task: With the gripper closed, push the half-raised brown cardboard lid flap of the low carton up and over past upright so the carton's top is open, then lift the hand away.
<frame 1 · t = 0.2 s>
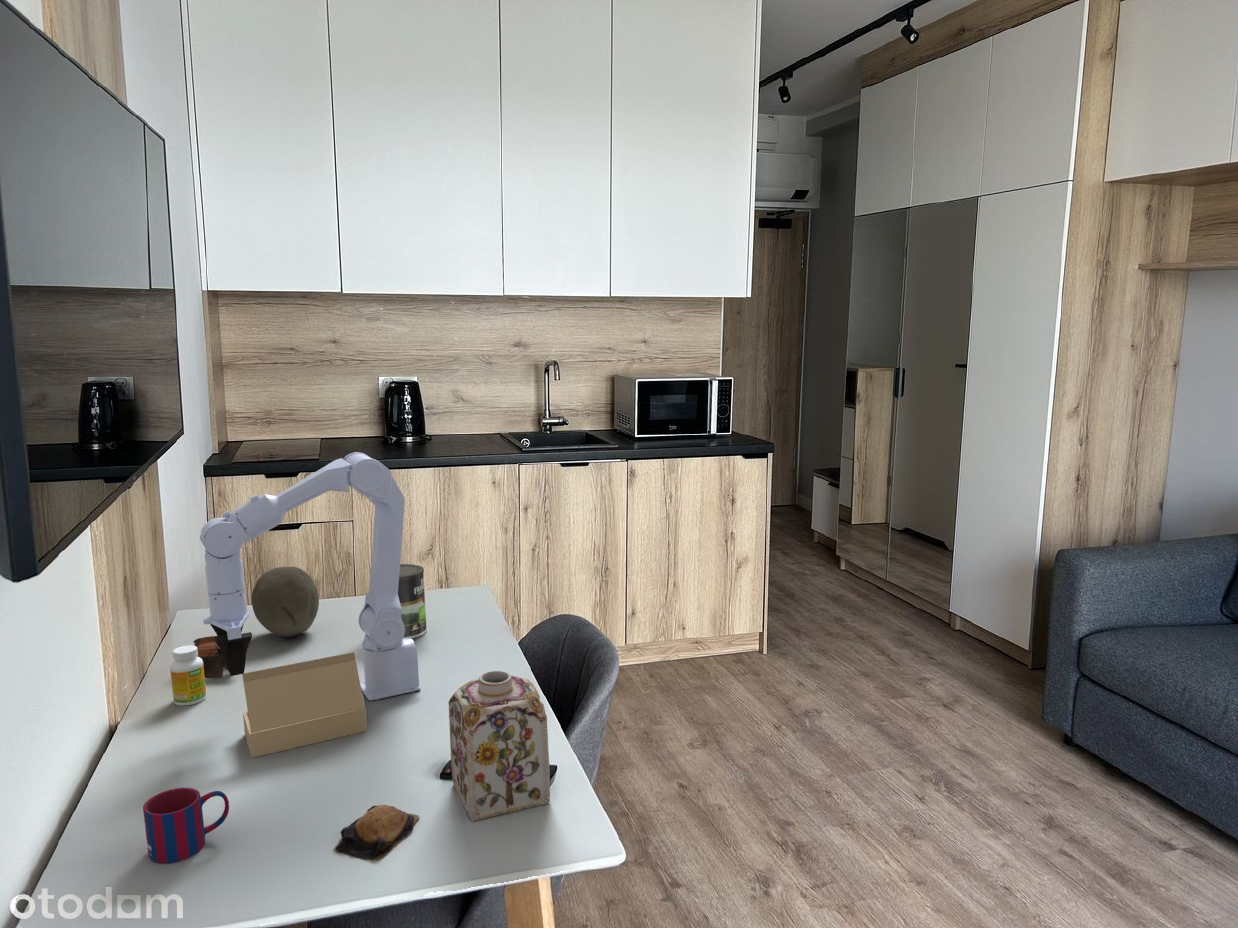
hand: (234, 666, 152), 10 cm above the table, tool pointing down, fingers open, 7 cm apart
cup: (191, 846, 118), on the table
supplement bottle: (190, 700, 163), on the table
cantaloupe: (288, 635, 195), on the table
carton: (306, 732, 149), on the table
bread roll: (377, 838, 120), on the table
decorative jar: (500, 795, 129), on the table
lid flap: (304, 690, 146), point 8 cm above the table, hinge at 55.0°
pottery mug: (219, 672, 176), on the table
coffee can: (403, 633, 195), on the table
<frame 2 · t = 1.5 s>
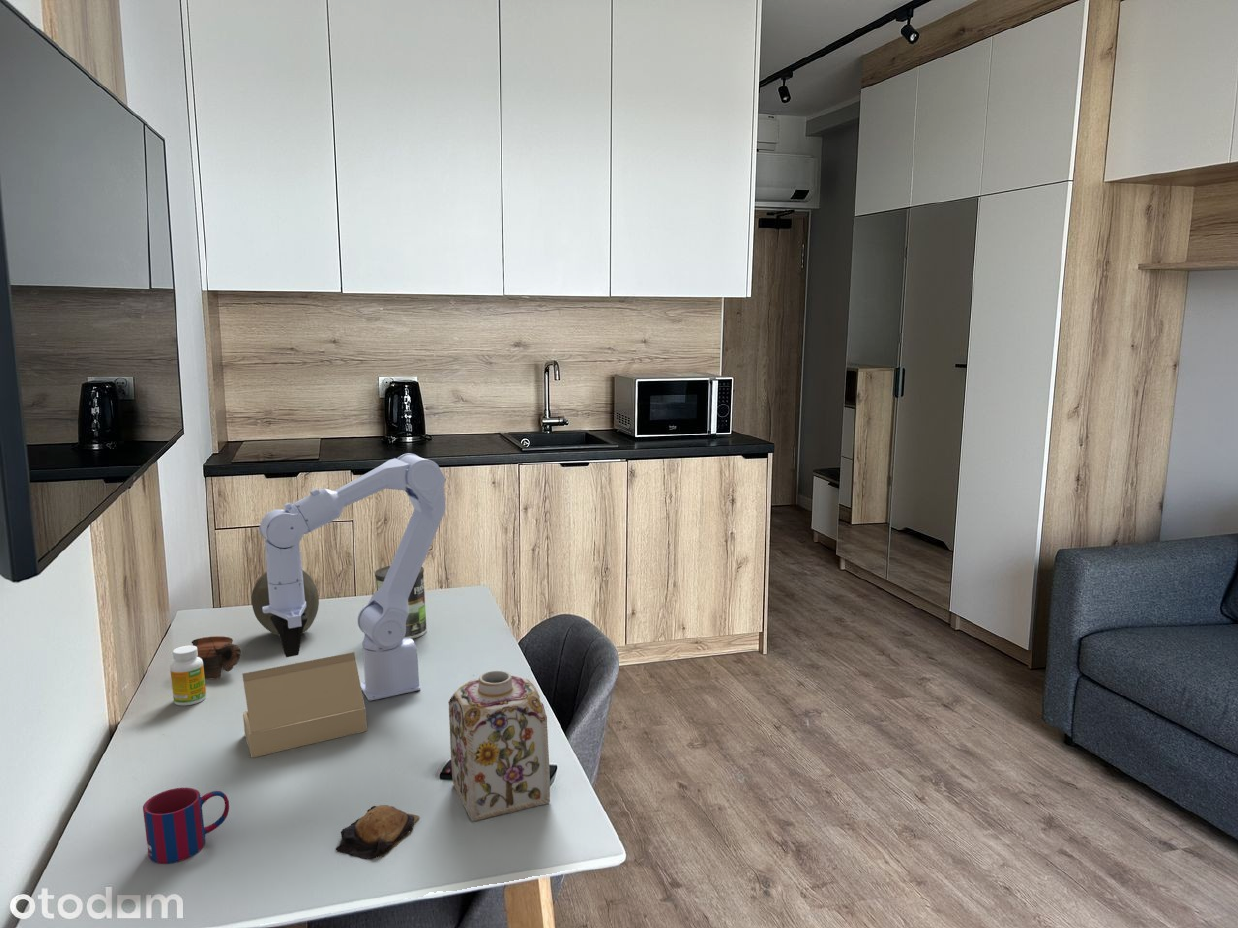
hand: (291, 654, 155), 10 cm above the table, tool pointing down, fingers closed
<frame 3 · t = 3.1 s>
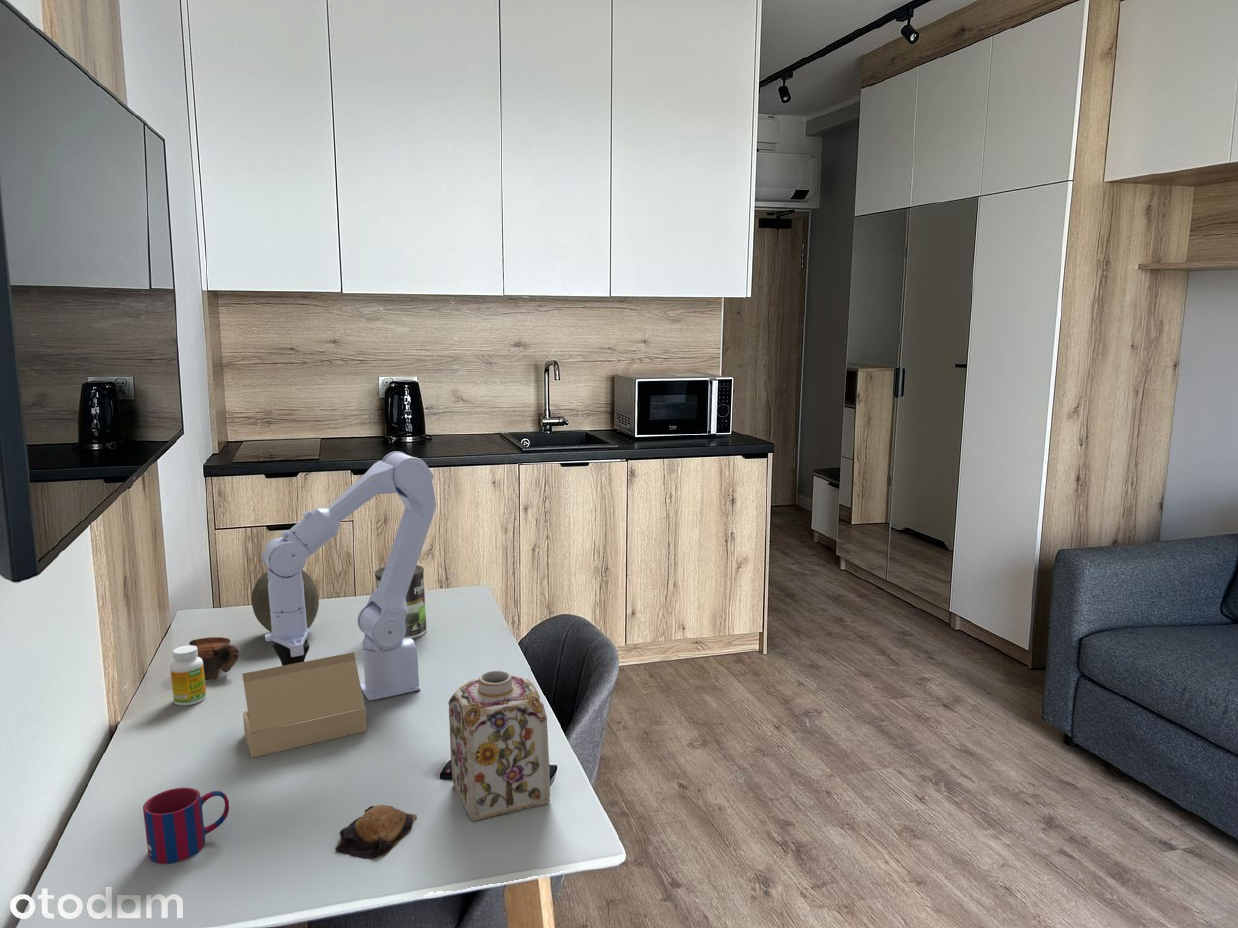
hand: (293, 682, 156), 5 cm above the table, tool pointing down, fingers closed
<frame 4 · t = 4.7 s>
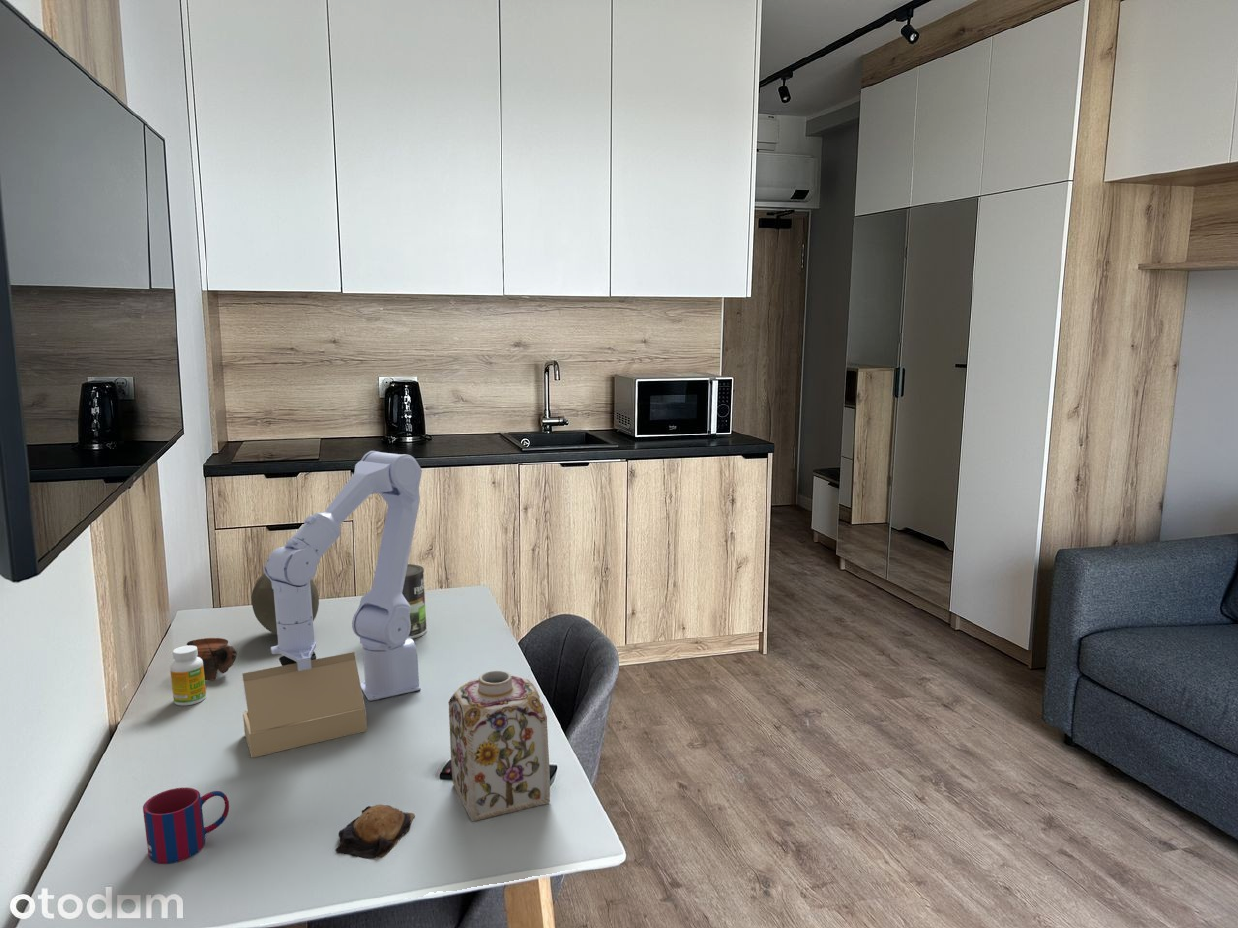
hand: (300, 696, 150), 6 cm above the table, tool pointing down, fingers closed
lid flap: (304, 690, 146), point 8 cm above the table, hinge at 55.9°, touching gripper
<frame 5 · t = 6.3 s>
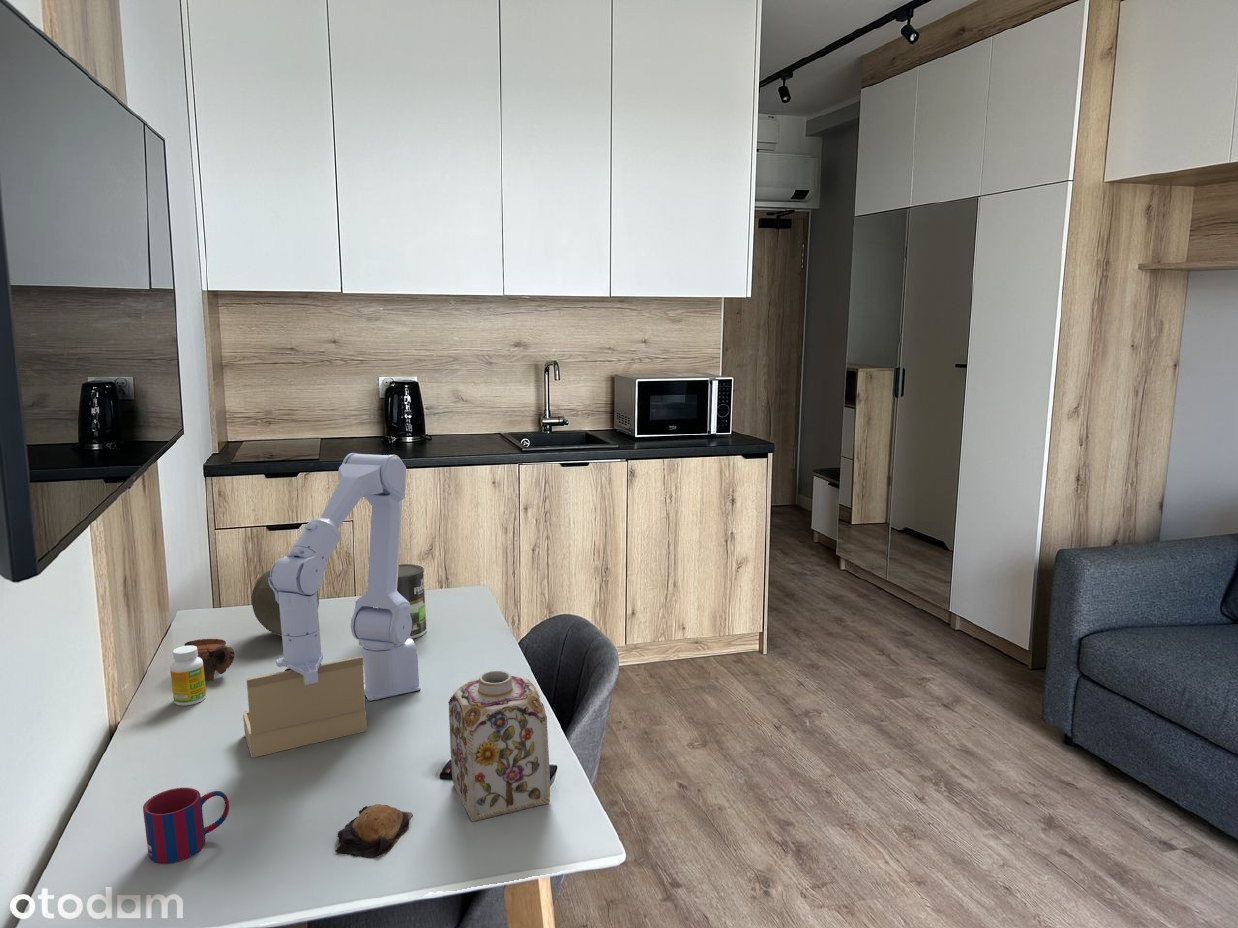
hand: (307, 710, 145), 5 cm above the table, tool pointing down, fingers closed, pressing on lid flap
lid flap: (307, 694, 143), point 9 cm above the table, hinge at 96.4°, touching gripper
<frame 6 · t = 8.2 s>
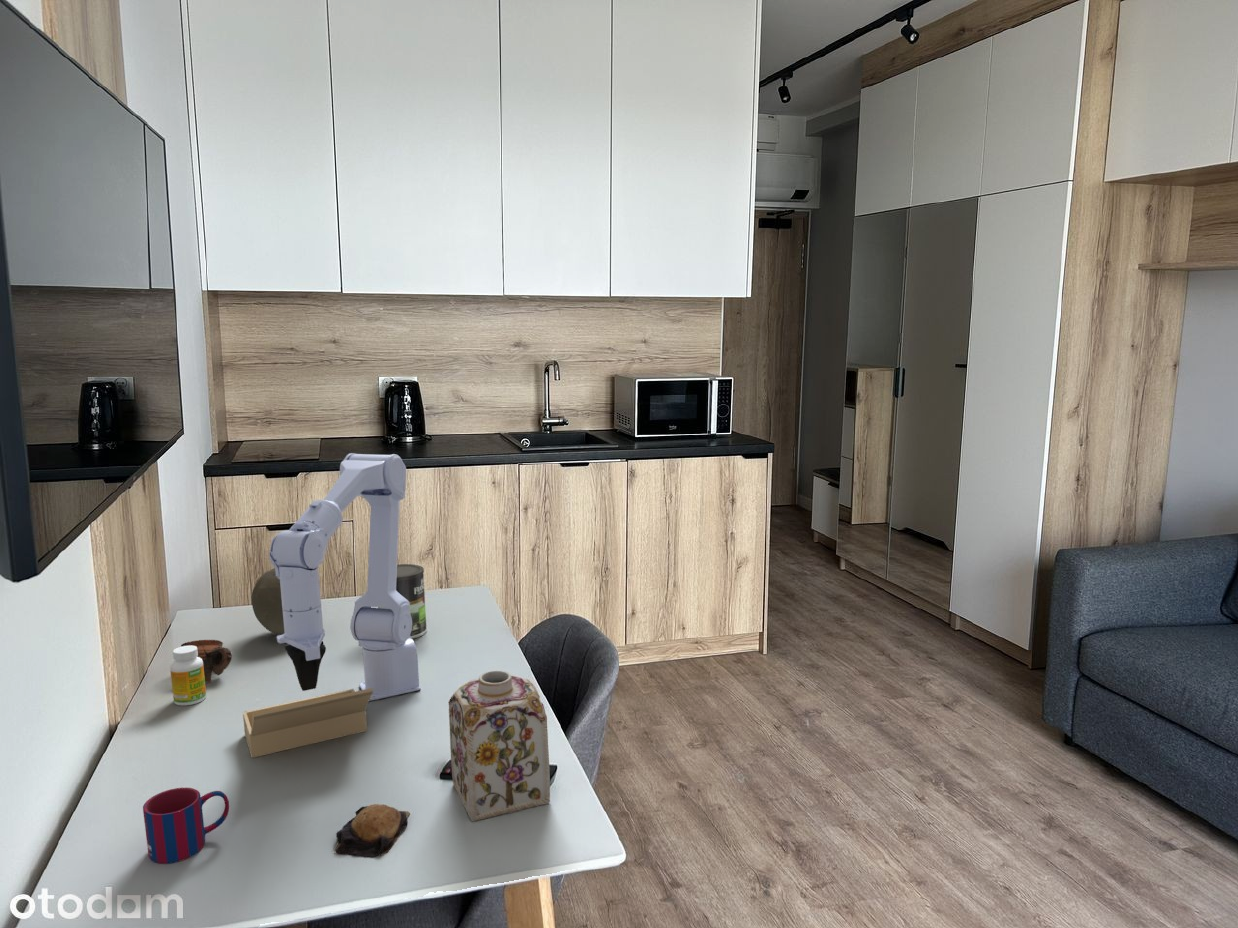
hand: (308, 688, 142), 10 cm above the table, tool pointing down, fingers closed
lid flap: (312, 712, 141), point 7 cm above the table, hinge at 139.0°
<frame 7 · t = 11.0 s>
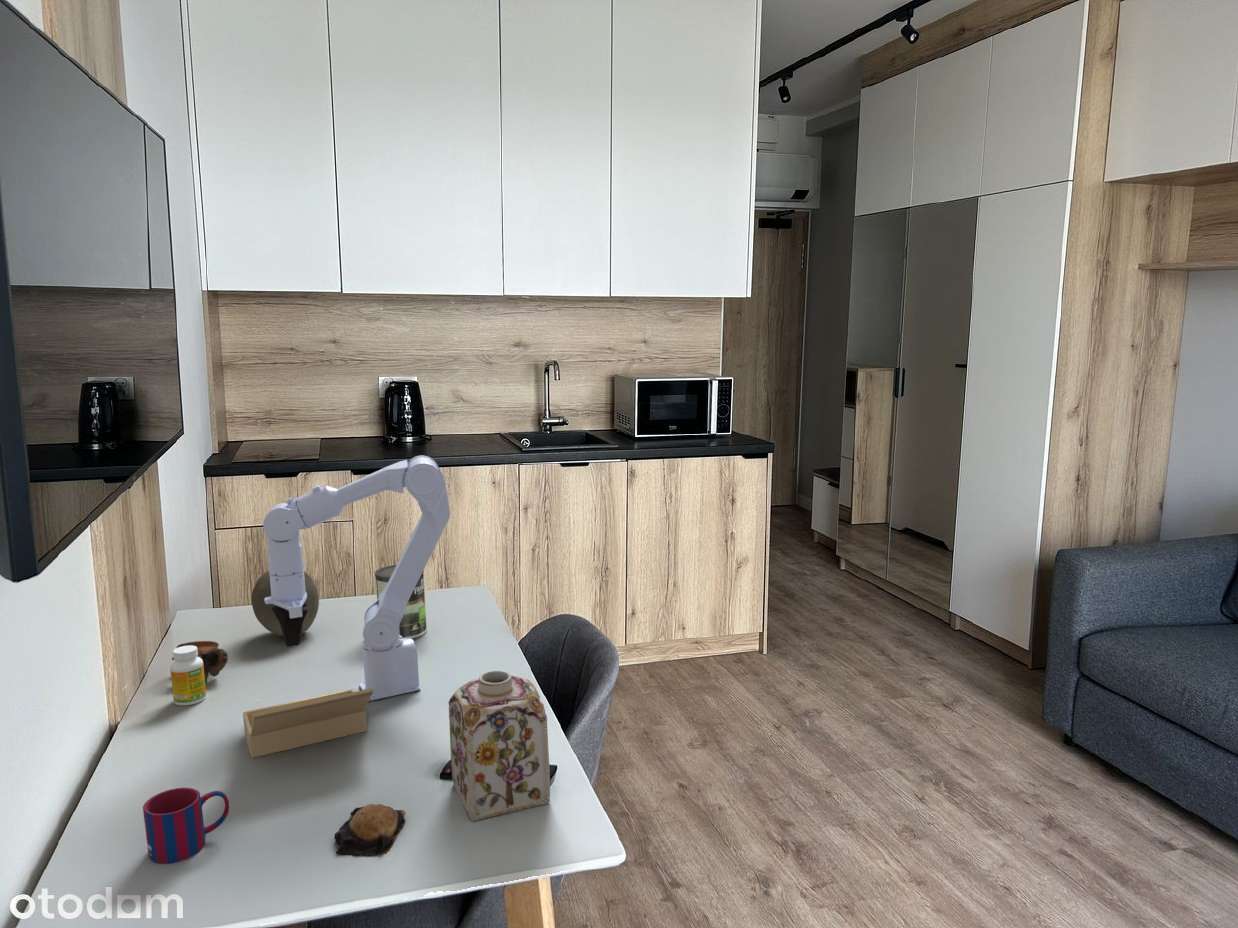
hand: (292, 644, 160), 10 cm above the table, tool pointing down, fingers closed
at the end: lid flap at +139° (first picture: +55°); the gripper is holding nothing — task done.
